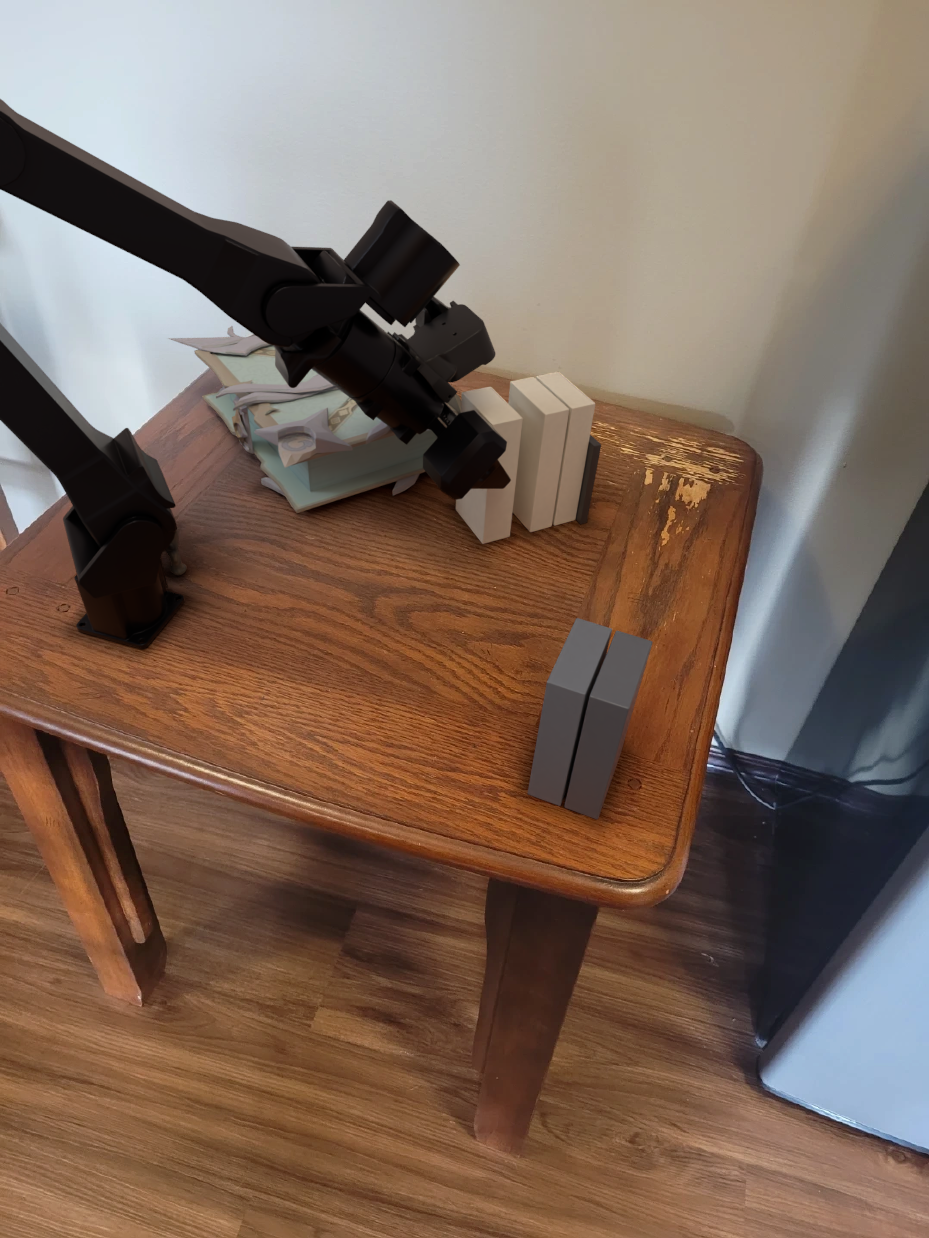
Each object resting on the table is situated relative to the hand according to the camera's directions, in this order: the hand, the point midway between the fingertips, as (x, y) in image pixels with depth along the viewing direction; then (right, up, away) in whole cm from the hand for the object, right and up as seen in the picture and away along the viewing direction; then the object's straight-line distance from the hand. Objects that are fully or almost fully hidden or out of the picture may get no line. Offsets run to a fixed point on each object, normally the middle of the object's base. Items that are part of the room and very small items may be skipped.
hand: (482, 457), depth 78 cm
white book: (0, -5, +6) cm, 8 cm away
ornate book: (-17, +5, +16) cm, 24 cm away
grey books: (+6, -26, -16) cm, 31 cm away
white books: (+6, -4, +8) cm, 11 cm away
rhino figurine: (-32, -8, +1) cm, 33 cm away
